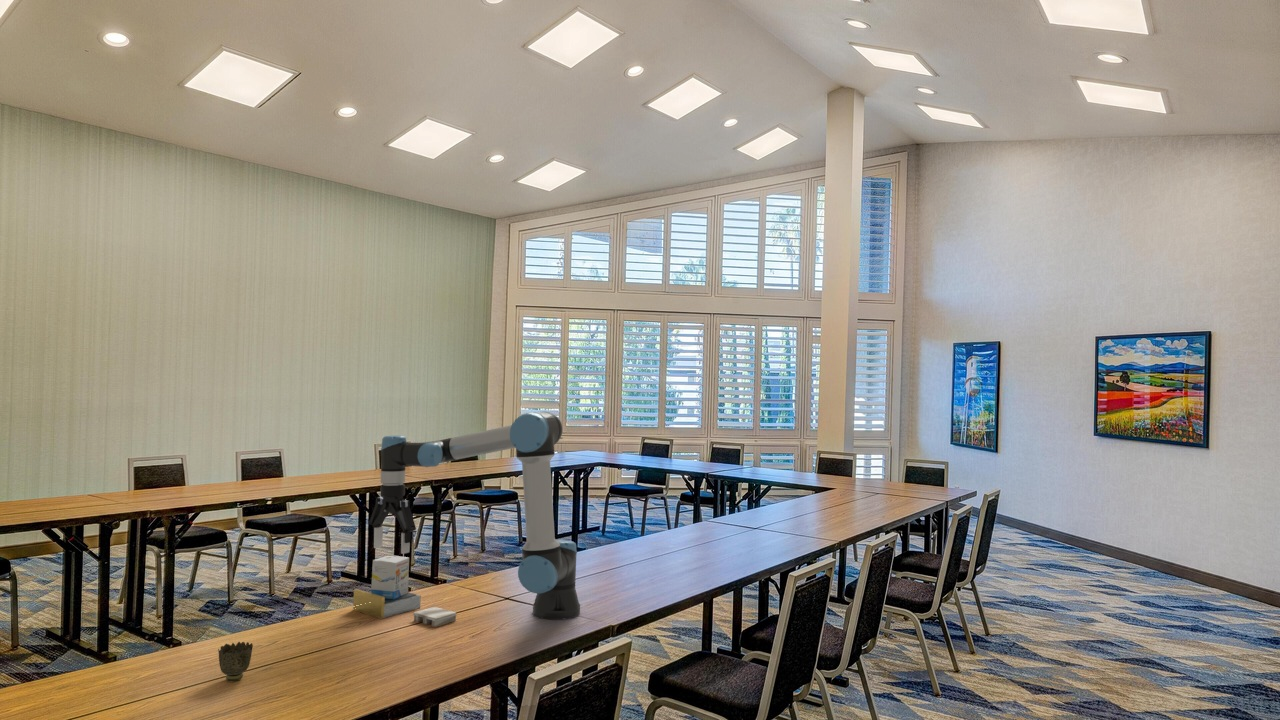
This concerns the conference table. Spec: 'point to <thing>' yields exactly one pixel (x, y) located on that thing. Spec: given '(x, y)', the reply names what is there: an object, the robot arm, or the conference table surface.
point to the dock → (384, 604)
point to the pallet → (435, 616)
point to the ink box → (390, 576)
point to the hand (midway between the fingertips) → (391, 550)
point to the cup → (235, 660)
